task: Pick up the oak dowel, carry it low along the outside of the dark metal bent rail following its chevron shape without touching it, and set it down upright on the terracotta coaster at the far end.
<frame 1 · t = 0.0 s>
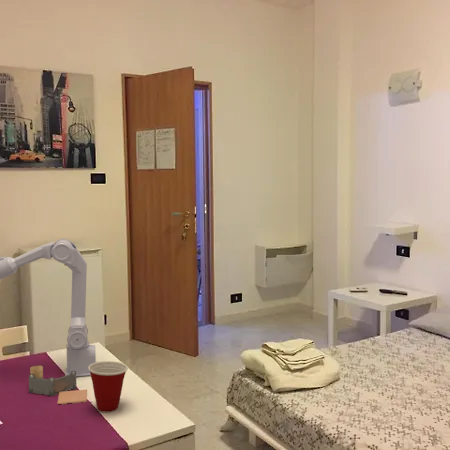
coaster: (72, 397, 153), on the table
bent rail: (52, 392, 156), on the table
oak dowel: (37, 386, 161), on the table
plastic cup: (108, 408, 146), on the table
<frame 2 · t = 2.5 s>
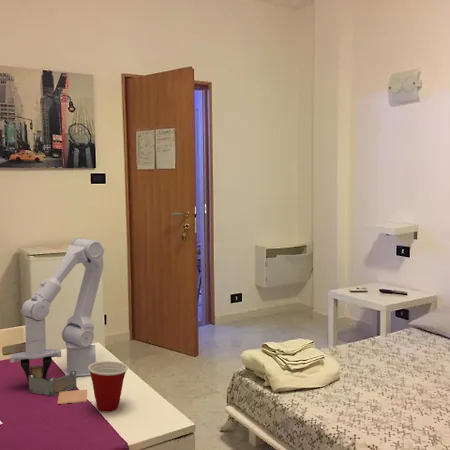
hand: (36, 382, 161), 1 cm above the table, fingers closed on oak dowel, 4 cm apart
oak dowel: (36, 386, 161), on the table, touching gripper
everything else where it was.
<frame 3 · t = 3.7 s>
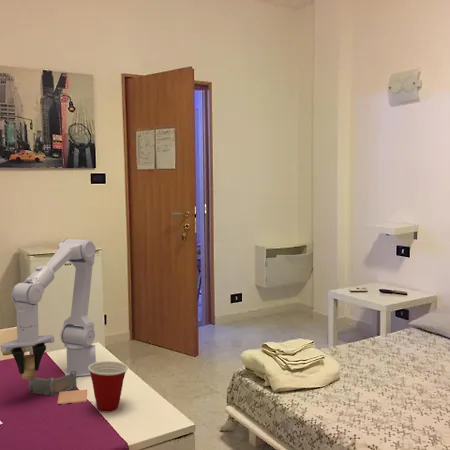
hand: (28, 371, 150), 8 cm above the table, fingers closed on oak dowel, 4 cm apart
oak dowel: (28, 377, 151), point 7 cm above the table, touching gripper
everything else where it was.
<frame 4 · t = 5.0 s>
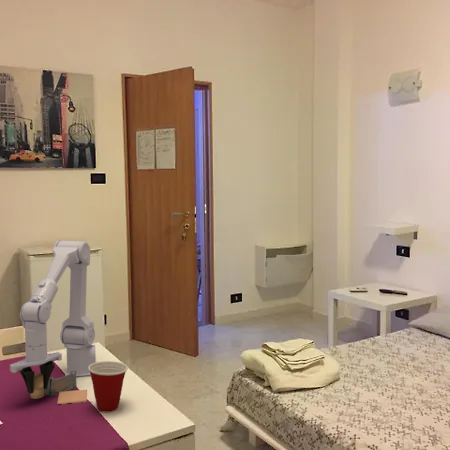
hand: (37, 390, 149), 3 cm above the table, fingers closed on oak dowel, 4 cm apart
oak dowel: (37, 396, 150), point 2 cm above the table, touching gripper
everything else where it was.
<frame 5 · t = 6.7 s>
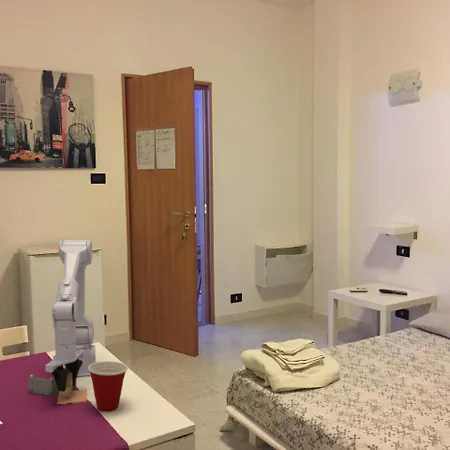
hand: (66, 388, 151), 3 cm above the table, fingers closed on oak dowel, 4 cm apart
oak dowel: (66, 393, 151), point 2 cm above the table, touching gripper
everything else where it was.
when the fingers open (3 cm above the table, at t = 7.9 s): oak dowel stays where it is, resting on coaster.
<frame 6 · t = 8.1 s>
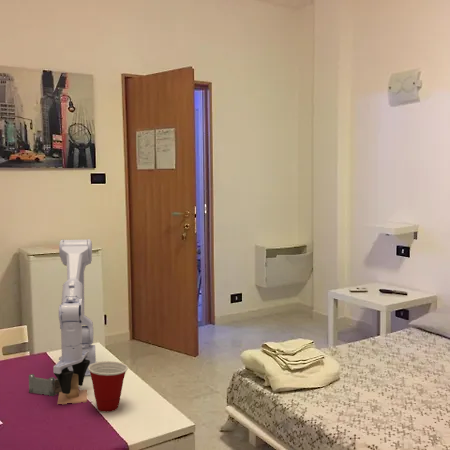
hand: (72, 389, 152), 3 cm above the table, fingers open, 6 cm apart
oak dowel: (72, 395, 153), point 1 cm above the table, touching coaster
everything else where it was.
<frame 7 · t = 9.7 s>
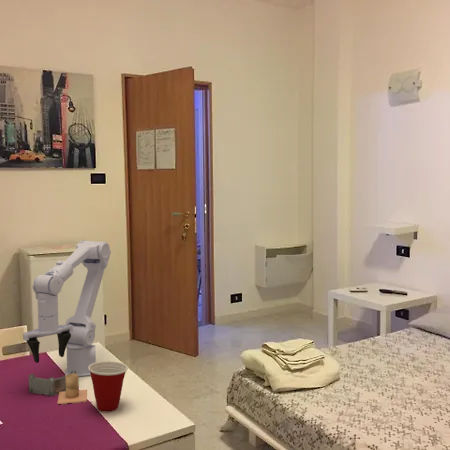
hand: (49, 358, 158), 9 cm above the table, fingers open, 7 cm apart
nothing on the table moved.
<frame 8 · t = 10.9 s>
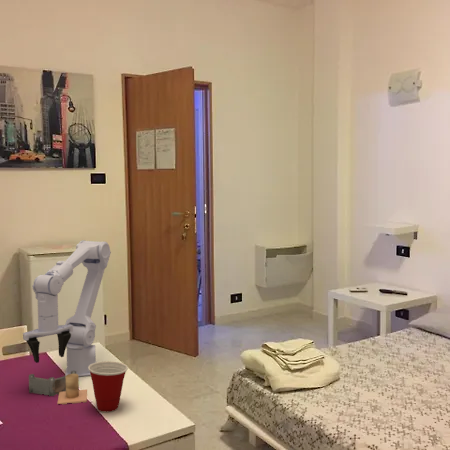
hand: (49, 358, 158), 9 cm above the table, fingers open, 7 cm apart
nothing on the table moved.
at the end: oak dowel inside the target area on the coaster (0.1 cm from its centre), point 0.5 cm above the coaster's base; oak dowel tilted 0°; the gripper is holding nothing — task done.
